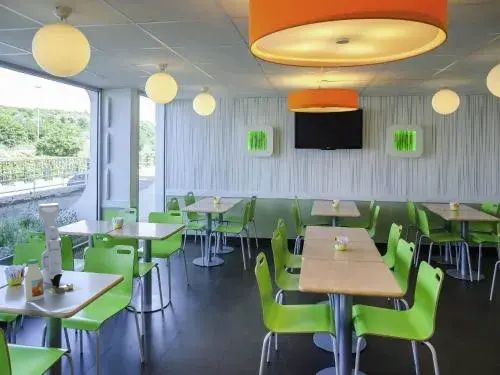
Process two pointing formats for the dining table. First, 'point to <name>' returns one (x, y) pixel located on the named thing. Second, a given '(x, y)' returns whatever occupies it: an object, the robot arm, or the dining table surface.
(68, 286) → the swing bar
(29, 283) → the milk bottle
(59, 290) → the latch board
